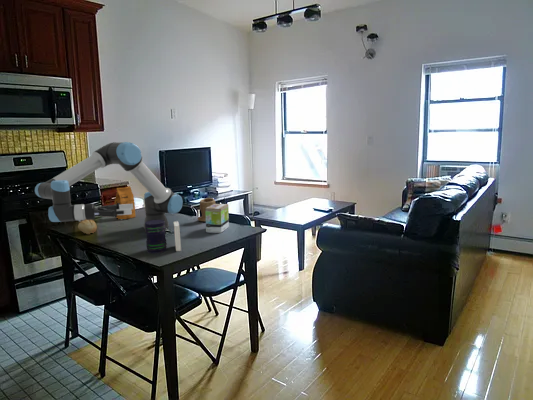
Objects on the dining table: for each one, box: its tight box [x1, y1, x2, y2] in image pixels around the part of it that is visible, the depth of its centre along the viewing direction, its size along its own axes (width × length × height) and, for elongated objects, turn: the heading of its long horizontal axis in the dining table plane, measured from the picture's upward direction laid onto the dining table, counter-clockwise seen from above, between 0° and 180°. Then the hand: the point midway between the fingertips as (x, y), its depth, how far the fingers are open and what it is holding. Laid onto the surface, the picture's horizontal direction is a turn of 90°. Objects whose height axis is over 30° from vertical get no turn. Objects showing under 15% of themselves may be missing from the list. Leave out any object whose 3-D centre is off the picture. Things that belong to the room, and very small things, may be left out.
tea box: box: [205, 203, 230, 234], centre depth 241 cm, size 15×10×15 cm, turn 168°
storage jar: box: [144, 220, 168, 254], centre depth 202 cm, size 10×10×15 cm
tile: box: [173, 220, 182, 252], centre depth 205 cm, size 2×10×13 cm, turn 15°
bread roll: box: [77, 219, 98, 235], centre depth 244 cm, size 10×15×8 cm, turn 45°
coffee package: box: [114, 185, 137, 220], centre depth 280 cm, size 10×12×22 cm
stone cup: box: [197, 197, 216, 222], centre depth 266 cm, size 15×12×15 cm
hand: (132, 208), depth 197 cm, fingers open, 13 cm apart
